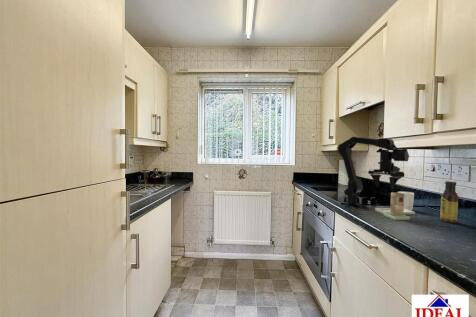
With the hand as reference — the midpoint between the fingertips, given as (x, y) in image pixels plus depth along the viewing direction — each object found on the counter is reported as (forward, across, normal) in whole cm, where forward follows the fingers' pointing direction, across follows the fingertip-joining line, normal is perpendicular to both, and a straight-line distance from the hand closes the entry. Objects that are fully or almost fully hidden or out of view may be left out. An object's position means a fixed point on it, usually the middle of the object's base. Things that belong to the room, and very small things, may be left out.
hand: (384, 188), depth 135 cm
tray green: (+13, -13, +6) cm, 19 cm away
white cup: (+13, 0, -16) cm, 21 cm away
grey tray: (+13, -6, -7) cm, 16 cm away
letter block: (+12, -13, +6) cm, 19 cm away
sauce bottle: (+13, -24, -14) cm, 31 cm away
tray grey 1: (+13, -4, +2) cm, 14 cm away
